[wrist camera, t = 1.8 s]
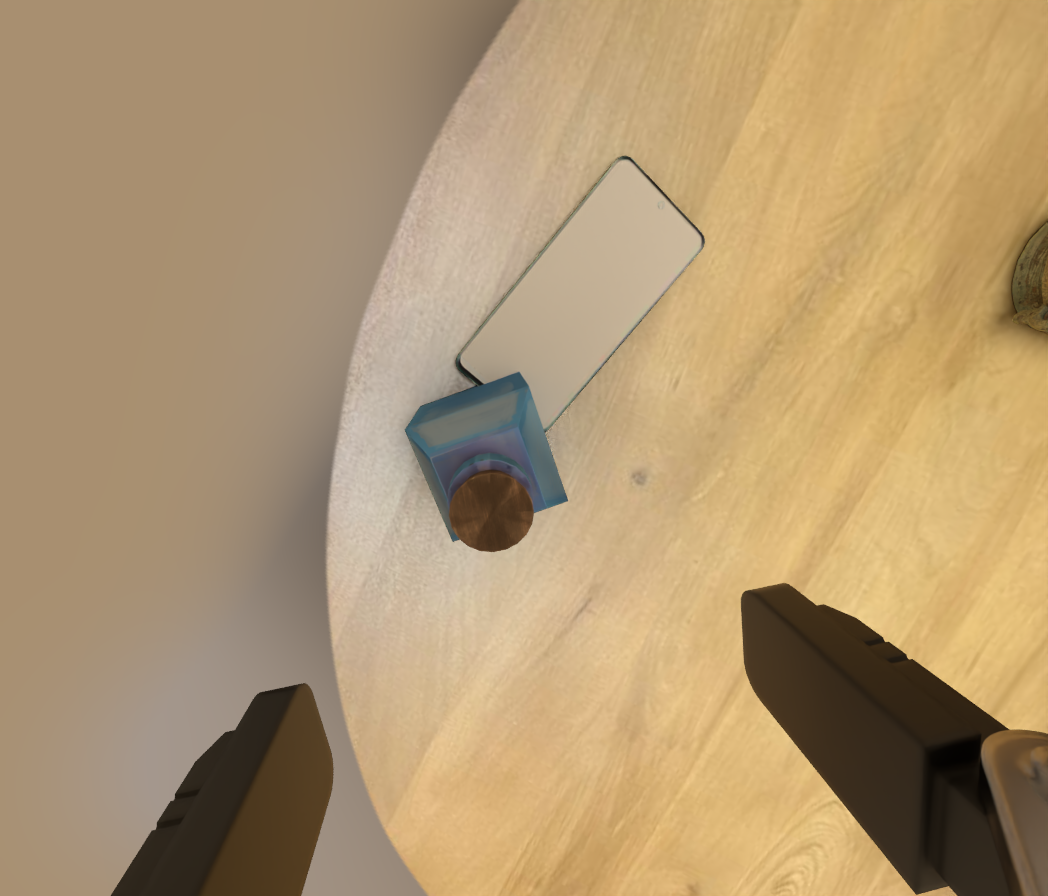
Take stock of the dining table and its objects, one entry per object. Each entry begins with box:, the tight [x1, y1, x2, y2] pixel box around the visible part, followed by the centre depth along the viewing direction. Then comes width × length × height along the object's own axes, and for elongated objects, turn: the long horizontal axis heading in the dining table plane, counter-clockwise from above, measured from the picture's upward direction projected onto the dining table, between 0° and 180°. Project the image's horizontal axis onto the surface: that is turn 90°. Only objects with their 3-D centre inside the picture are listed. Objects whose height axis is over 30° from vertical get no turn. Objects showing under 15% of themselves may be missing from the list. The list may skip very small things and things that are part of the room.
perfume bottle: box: [405, 372, 568, 552], centre depth 24 cm, size 6×6×12 cm
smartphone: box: [456, 156, 705, 432], centre depth 28 cm, size 7×1×15 cm
